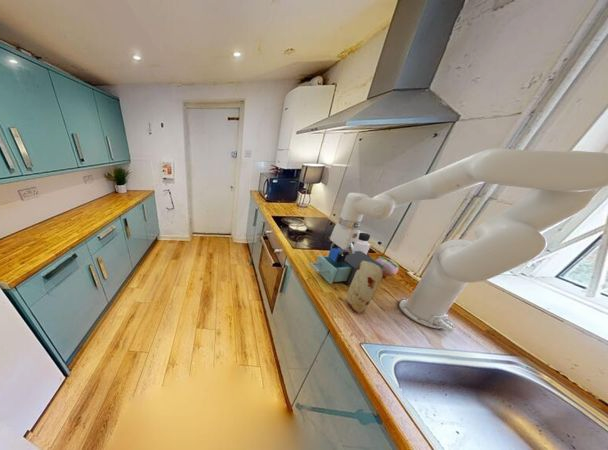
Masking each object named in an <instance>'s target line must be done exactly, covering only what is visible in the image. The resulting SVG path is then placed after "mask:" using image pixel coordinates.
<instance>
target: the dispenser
mask: <svg viewBox="0 0 608 450" xmlns="http://www.w3.org/2000/svg"><path fill="white" fill-rule="evenodd" d="M375 260H376V259H374V258H372V257H370V255H368V254H367V255H366V254H364V253H363V252H361V251H355V254H350V255H346V258H345V260H344V262H345V263H346V264H348V265H349V266H350V267H351V268H352V270H351V273H350V275H349V278H348V280H347V281H342V282H343V283H344V284H345V285H347V286H350V285H351V283H352V280H353V278H354V275H355V273H356V271H357V269H358V267H359V265H360V263H361V261H368V262H371V263H374V264H376V265H378V266H379V267H380V268H381V269H383V267H384V266H383V265H381V264H380V263H378V262H377V261H375Z"/></svg>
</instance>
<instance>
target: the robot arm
mask: <svg viewBox="0 0 608 450" xmlns="http://www.w3.org/2000/svg"><path fill="white" fill-rule="evenodd" d="M485 183H486V184H492V185H500V186H505V187H506V186H508V187H515V188H526V189H530V190H529V191H528V193H527V194H526V195H524V196H523V197H522V198H520V199H519V200H517V201H516V202H515V203H512V204H511V205H510V206H508V207H506V208H505V209H503V210H501V211H500V212H498V213H496V214H494V215H493V216H491V217H489V218H488V219H486V220H485V221H482V222H481V223H480V224H478V225H477V226H476V228H475V230H474V236H475V238H476V239H475V240H474V241H469V240H467V239H461V238H455V239H449V240H446V241H444V242H442V243H441V244H440V245H438V246H437V247H436V250H435V251H434V253H433V255H432V257H431V260H430V262H429V263H428V266H427V268H426V269H425V272H424V273H423V274H422V276H421V278H420V279H419V281H418V283H417V284H416V286H415V288H414V290H413V291H412V293H411V295H410V296H409V298H408V299H403V300H400V302H399V304H398V307H399V309H400V310H401V311H402V312H403V314H405V315H406V316H407V317H408V318H410V319H411V320H413V321H415V322H416V323H419V324H421V325H423V326H425V327H428V328H433V329H443V330H445V331H446V332H447V333H449V334H452V333H454V332H455V328H456V327H457V326H456V325H455V324H453V323H452V322H450V321H449V320H448V318H449V315H448V314H447V313H448V311H449V310H450V309H451V307H452V306H453V305H454V303H455V301H456V300H457V299H458V298H459V296H460V295H461V293H462V292H463V291H464V289H466V287H467V285H468V284H469V283H470V284H473V283H479V282H484V281H488V280H490V279H492V278H495V277H497V276H499V275H501V274H504V273H507V272H508V271H511V270H513V269H515V268H518V267H520V266H522V265H524V264H527V263H529V262H531V261H533V260H535V259H536V258H538V257H539V256H540V255H542V253H544V251H545V250H546V249H547V245H548V241H547V238H546V237H545V235H544V233H545V232H547V231H549V230H550V229H553V228H554V227H556V226H558V225H560V224H562V223H563V222H566V221H568V220H569V219H571V218H573V217H574V216H576V215H577V214H579V213H580V212H581V211H583V210H584V209H585V208H586V207H587V206H588V205H589V203H591V201H592V200H593V197H594V195H595V193H596V190H598V189H602V188H605V187H607V186H608V153H607V152H599V151H585V150H564V151H556V150H529V149H515V148H514V149H513V148H504V147H503V148H502V147H494V148H488V149H485V150H482V151H479V152H476V153H473V154H471V155H469V156H467V157H464V158H462V159H460V160H457V161H455V162H452V163H450V164H447V165H446V166H443V167H441V168H439V169H437V170H434V171H432V172H429V173H427V174H425V175H423V176H422V175H421V176H420V177H417V178H415V179H413V180H410V181H408V182H405V183H403V184H399V185H398V186H395V187H393V188H390V189H388V190H385V191H384V192H381V193H379V194H377V195H374V196H373V197H370V196H369V195H368V194H366V193H361V192H349V193H348V194H347V195H346V198H345V199H344V200H345V201H344V204H343V206H342V210H341V213H340V215H339V217H338V220H337V222H336V223H335V225H334V228H332V229H333V230H332V232H331V234H330V236H328V239H329V247H330V249H331V248H341V254H339V256H338V259H337V262H344V260H345V258H346V255H350V254H355V251H354V250H355V248H356V245H357V242H358V239H359V234H360V232H361V227H362V225H361V223H362V220H363V218H364V216H367V217H370V218H372V219H376V220H384V219H386V218H389V217H390V216H391V215H392V214H393V213H394V209H396V208H400V207H402V206H404V205H405V206H406V205H408V204H411V203H414V202H418V201H426V200H427V201H428V200H429V201H430V200H431V201H432V200H437V199H442V198H445V197H447V196H450V195H454V194H455V193H458V192H461V191H464V190H467V189H469V188H472V187H475V186H476V187H477V186H478V185H482V184H485ZM344 251H345V252H344Z"/></svg>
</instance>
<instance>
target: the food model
mask: <svg viewBox="0 0 608 450" xmlns="http://www.w3.org/2000/svg"><path fill="white" fill-rule="evenodd" d="M382 279H383V273H382V269H381V268H380V267H379V266H378V265H376V264H374V263H371V262H368V261H361V263H360V265H359V267H358V269H357V271H356V273H355V275H354V278H353V280H352V283H351V285H349V288H348V291H347V295H346V301H347V305H348V306H349V308H350V309H351V310H352V311H354V312H355V313H359V314H360V313H363V311H364V310H365V309H366V308H367V307H368V306H369V304H370V302H371V301H372V299H373V296H374V295H375V293H376V291H377V289H378V287H379V284H380V283H381V281H382Z"/></svg>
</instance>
